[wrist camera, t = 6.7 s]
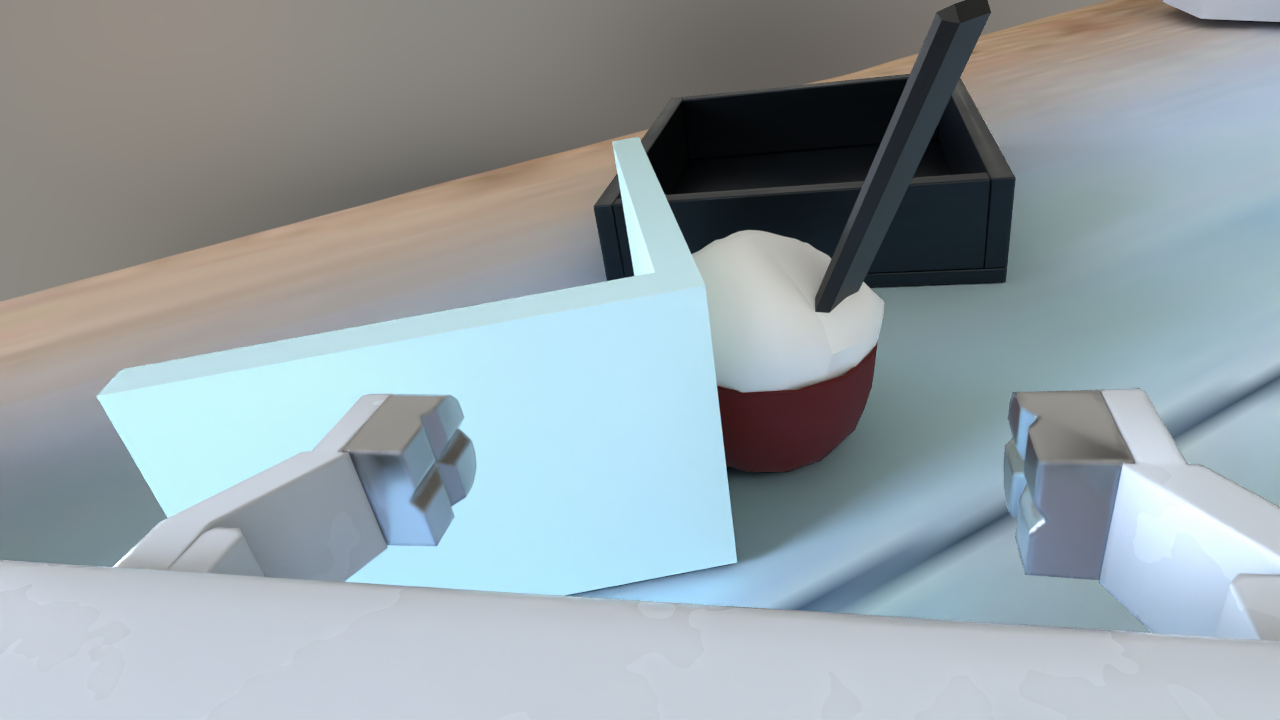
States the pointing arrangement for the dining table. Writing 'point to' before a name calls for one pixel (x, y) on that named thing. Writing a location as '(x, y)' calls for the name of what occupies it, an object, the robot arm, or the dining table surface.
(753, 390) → the cocoa
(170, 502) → the pale cyan corner bracket
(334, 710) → the robot arm
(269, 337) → the dining table surface
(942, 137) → the tray
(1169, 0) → the rock
